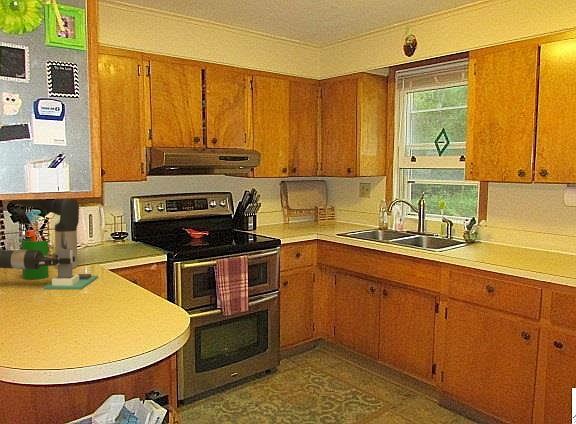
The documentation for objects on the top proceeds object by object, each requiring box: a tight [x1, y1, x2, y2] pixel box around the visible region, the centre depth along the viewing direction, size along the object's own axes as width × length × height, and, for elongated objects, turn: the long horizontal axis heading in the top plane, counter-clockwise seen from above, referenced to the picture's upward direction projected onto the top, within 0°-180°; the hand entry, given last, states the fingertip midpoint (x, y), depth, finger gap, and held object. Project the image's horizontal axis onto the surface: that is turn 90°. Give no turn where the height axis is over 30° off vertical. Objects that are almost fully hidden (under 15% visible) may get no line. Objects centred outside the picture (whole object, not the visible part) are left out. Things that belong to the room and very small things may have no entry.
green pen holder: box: [21, 229, 49, 280], centre depth 202 cm, size 10×9×20 cm
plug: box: [57, 241, 73, 278], centre depth 188 cm, size 4×5×14 cm
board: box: [43, 273, 99, 290], centre depth 193 cm, size 20×14×4 cm
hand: (72, 260), depth 188 cm, fingers closed on plug, 4 cm apart
